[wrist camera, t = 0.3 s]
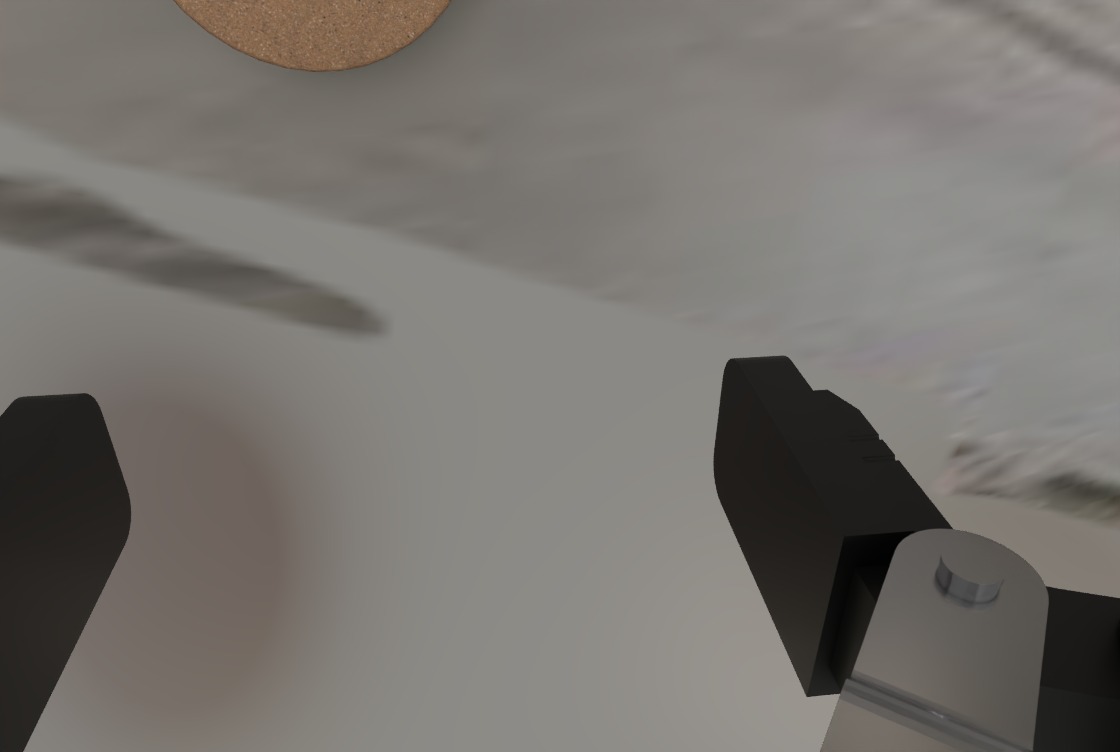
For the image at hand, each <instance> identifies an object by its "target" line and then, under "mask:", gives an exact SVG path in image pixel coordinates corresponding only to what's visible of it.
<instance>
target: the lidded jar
mask: <svg viewBox="0 0 1120 752" xmlns="http://www.w3.org/2000/svg"><path fill="white" fill-rule="evenodd" d="M174 1H175V2H176V4H177V5H178V6H179V7H180V8H181V9H182V10H183V11H184V12H185V13H186V14H187V15H188V16H189V17H191V18H192V19H193V20H194V21H195V22H197V23H198V24H199V25H200V26H201V27H202V28H204V29H205V30H206V31H207V32H208V33H210V34H212V35H213V36H215V37H216V38H218V39H219V40H221V41H223V42H224V43H226V44H227V45H229V46H230V47H232V48H234V49H236V50H238V51H240V52H242V53H245V54H247V55H249V56H251V57H253V58H256V59H258V60H260V61H264V62H267V63H271V64H274V65H277V66H281V67H284V68H289V69H297V70H305V71H312V72H319V71H342V70H347V69H352V68H357V67H362V66H366V65H369V64H371V63H374V62H376V61H379V60H382V59H384V58H387V57H389V56H391V55H393V54H394V53H396V52H398V51H399V50H401V49H403V48H404V47H406V46H408V45H409V44H411V43H412V42H413V41H415V40H416V39H417V38H418V37H419V36H420V35H422V34H423V33H424V32H425V31H426V30H427V29H429V28H430V27H431V26H432V24H433V23H434V22H435V21H436V20H437V19H438V17H439V16H440V15H441V14H442V13H443V11H444V10H445V9H446V8H447V7H448V5H449V3H450V1H451V0H174Z"/></svg>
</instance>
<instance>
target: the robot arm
mask: <svg viewBox="0 0 1120 752" xmlns="http://www.w3.org/2000/svg"><path fill="white" fill-rule="evenodd" d="M714 478H715V484H716V490H717V493H718V497H719V499H720V502H721V505H722V507H723V509H724V511H725V513H726V516H727V518H728V520H729V523H730V525H731V527H732V529H733V532H734V534H735V536H736V538H737V541H738V543H739V545H740V547H741V550H742V552H743V554H744V556H745V559H746V561H747V563H748V565H749V568H750V570H751V572H752V574H753V576H754V579H755V581H756V583H757V586H758V588H759V590H760V593H761V595H762V597H763V599H764V601H765V604H766V606H767V608H768V610H769V613H770V615H771V617H772V620H773V622H774V624H775V626H776V629H777V631H778V633H779V635H780V638H781V640H782V642H783V644H784V647H785V649H786V651H787V653H788V656H789V658H790V660H791V662H792V665H793V667H794V669H795V671H796V674H797V676H798V678H799V680H800V682H801V685H802V687H803V689H804V692H805V694H806V696H807V697H811V696H820V695H831V694H840V696H839V699H838V702H837V705H836V707H835V710H834V713H833V716H832V719H831V722H830V724H829V727H828V730H827V733H826V736H825V738H824V741H823V744H822V747H821V750H820V752H1120V598H1114V597H1108V596H1102V595H1095V594H1089V593H1082V592H1076V591H1068V590H1063V589H1057V588H1052V587H1047V586H1045V584H1044V582H1043V580H1042V579H1041V577H1040V576H1039V574H1038V573H1037V572H1036V570H1035V569H1034V568H1033V567H1032V566H1031V565H1030V564H1029V563H1028V562H1027V561H1026V560H1024V559H1023V558H1022V557H1020V556H1019V555H1018V554H1016V553H1015V552H1013V551H1012V550H1010V549H1009V548H1007V547H1005V546H1003V545H1002V544H999V543H997V542H995V541H993V540H991V539H988V538H985V537H983V536H980V535H977V534H973V533H970V532H966V531H960V530H954V529H953V528H952V527H951V526H950V524H949V523H948V522H947V521H946V520H945V518H944V517H943V516H942V514H941V513H940V512H939V511H938V509H937V508H936V507H935V505H934V504H933V503H932V502H931V500H930V499H929V498H928V497H927V495H926V494H925V493H924V492H923V490H922V489H921V488H920V486H919V485H918V484H917V483H916V481H915V480H914V479H913V478H912V476H911V475H910V474H909V472H907V470H906V469H905V467H904V466H903V465H902V464H901V462H900V461H899V460H897V461H895V455H894V453H893V452H892V451H891V450H890V449H889V447H888V446H887V445H886V443H885V442H884V441H883V440H879V434H878V433H877V432H876V431H875V429H874V428H873V427H872V425H871V424H870V423H869V422H868V420H867V419H866V418H865V417H864V415H863V414H862V413H861V412H860V410H859V409H857V408H855V407H854V406H852V405H851V404H849V403H847V402H846V401H844V400H843V399H841V398H840V397H838V396H837V395H835V394H833V393H832V392H830V391H829V390H815V391H813V390H812V388H811V387H810V386H809V384H808V383H807V382H806V380H805V379H804V378H803V376H802V375H801V373H800V372H799V371H798V369H797V368H796V366H795V365H794V364H793V362H792V361H791V360H790V359H789V358H788V357H787V356H768V357H751V358H734V359H730V360H729V361H728V362H727V364H726V367H725V369H724V375H723V382H722V390H721V398H720V407H719V415H718V423H717V432H716V440H715V448H714ZM130 523H131V505H130V498H129V493H128V490H127V487H126V484H125V481H124V478H123V475H122V472H121V469H120V466H119V463H118V460H117V457H116V453H115V451H114V448H113V444H112V442H111V438H110V436H109V432H108V430H107V426H106V424H105V421H104V417H103V415H102V412H101V409H100V407H99V405H98V403H97V402H96V400H95V399H94V398H93V397H92V396H91V395H89V394H86V393H83V394H82V393H81V394H63V395H46V396H27V397H20V398H18V399H16V400H14V401H13V402H12V403H11V405H10V406H9V407H8V408H7V409H6V410H5V412H4V413H3V414H2V415H1V416H0V752H23V751H24V749H25V747H26V745H27V743H28V741H29V739H30V736H31V735H32V733H33V731H34V728H35V726H36V724H37V722H38V720H39V718H40V716H41V714H42V712H43V710H44V708H45V706H46V704H47V702H48V700H49V698H50V696H51V694H52V692H53V690H54V688H55V686H56V684H57V682H58V680H59V678H60V676H61V674H62V671H63V670H64V667H65V665H66V663H67V661H68V659H69V657H70V655H71V653H72V651H73V649H74V647H75V645H76V643H77V641H78V639H79V637H80V635H81V633H82V631H83V629H84V627H85V625H86V623H87V621H88V619H89V617H90V615H91V612H92V611H93V609H94V606H95V604H96V602H97V600H98V598H99V596H100V594H101V592H102V590H103V588H104V586H105V584H106V582H107V580H108V578H109V576H110V574H111V572H112V570H113V568H114V566H115V564H116V562H117V560H118V558H119V556H120V554H121V552H122V550H123V548H124V546H125V543H126V541H127V538H128V535H129V530H130Z"/></svg>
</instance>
